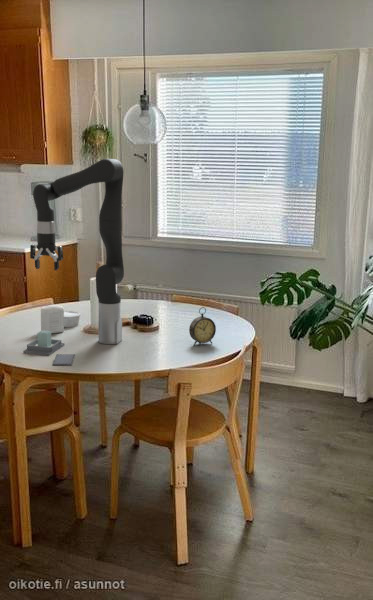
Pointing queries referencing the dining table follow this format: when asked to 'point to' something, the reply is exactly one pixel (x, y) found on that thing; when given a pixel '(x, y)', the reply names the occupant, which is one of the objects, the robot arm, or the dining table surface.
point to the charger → (44, 338)
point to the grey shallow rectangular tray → (40, 350)
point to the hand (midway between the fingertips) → (46, 269)
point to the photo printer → (52, 318)
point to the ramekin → (71, 318)
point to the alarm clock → (202, 329)
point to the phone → (63, 360)
